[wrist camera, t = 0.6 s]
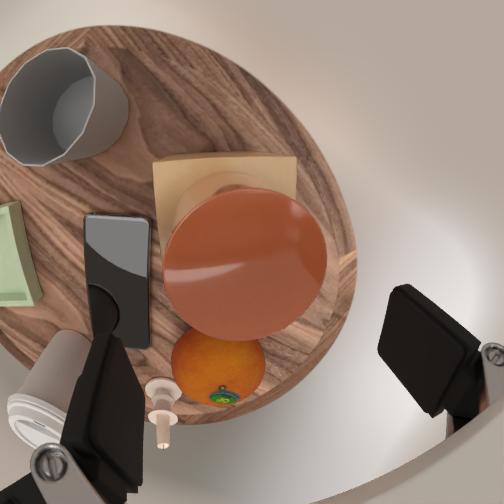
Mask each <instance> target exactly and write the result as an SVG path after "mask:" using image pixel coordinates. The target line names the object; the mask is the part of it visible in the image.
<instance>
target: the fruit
mask: <svg viewBox="0 0 504 504" xmlns="http://www.w3.org/2000/svg"><path fill="white" fill-rule="evenodd" d="M171 364H172V373H173V376H174V379H175V382H176V384H177V386H178V387H179V389H180V390H181V391H182V392H183V394H184V395H186V396H187V397H189V398H191V399H193V400H195V401H197V402H199V403H203V404H207V405H211V406H220V407H222V406H228V405H232V404H235V403H237V402H239V401H241V400H243V399H245V398H247V397H248V396H249V395H251V394H252V393H253V392H254V391H255V390H256V389H257V388H258V386H259V385H260V383H261V381H262V378H263V375H264V370H265V358H264V353H263V350H262V348H261V345H260V343H259V342H258V340H257V339H254V340H246V341H230V340H223V339H218V338H215V337H211V336H209V335H206V334H204V333H202V332H200V331H198V330H196V329H195V328H193V327H192V328H191V329H189V330H188V331H187V332H186V333H184V334H183V335H182V336H181V337H180V339H179V340H178V341H177V342H176V344H175V346H174V349H173V352H172V357H171Z"/></svg>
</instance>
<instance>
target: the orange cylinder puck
mask: <svg viewBox="0 0 504 504" xmlns="http://www.w3.org/2000/svg"><path fill="white" fill-rule="evenodd" d="M326 267H327V251H326V244H325V240H324V236H323V234H322V231H321V229H320V227H319V225H318V223H317V222H316V220H315V219H314V217H313V216H312V215H311V214H310V212H309V211H308V210H307V209H306V208H305V207H304V206H302V205H301V204H300V203H298V202H297V201H296V200H294V199H293V198H291V197H289V196H287V195H286V194H284V193H282V192H280V191H278V190H277V189H275V188H273V187H271V186H269V185H268V184H266V183H264V182H262V181H260V180H258V179H257V178H254V177H252V176H250V175H247V174H244V173H238V172H220V173H216V174H212V175H209V176H207V177H204V178H203V179H201V180H199V181H197V182H196V183H195V184H193V185H192V186H191V187H190V188H189V189H188V190H187V191H186V192H185V193H184V194H183V196H182V197H181V199H180V200H179V202H178V204H177V206H176V208H175V211H174V215H173V219H172V223H171V227H170V231H169V236H168V240H167V244H166V249H165V253H164V258H163V269H162V272H163V282H164V287H165V291H166V293H167V296H168V298H169V301H170V302H171V304H172V306H173V308H174V309H175V310H176V312H177V313H178V314H179V315H180V317H181V318H182V319H183V320H185V321H186V322H187V323H188V324H189V325H190V326H192V327H193V328H195V329H196V330H198V331H200V332H202V333H204V334H206V335H209V336H211V337H215V338H218V339H223V340H230V341H246V340H254V339H259V338H263V337H266V336H269V335H272V334H274V333H276V332H278V331H280V330H282V329H284V328H286V327H287V326H289V325H290V324H292V323H293V322H294V321H296V320H297V319H298V318H299V317H300V316H301V315H302V314H303V313H304V312H305V311H306V310H307V309H308V308H309V307H310V305H311V304H312V303H313V301H314V300H315V298H316V296H317V295H318V293H319V291H320V288H321V286H322V284H323V280H324V277H325V273H326Z"/></svg>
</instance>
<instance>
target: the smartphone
mask: <svg viewBox="0 0 504 504" xmlns="http://www.w3.org/2000/svg"><path fill="white" fill-rule="evenodd" d="M151 231H152V222H151V219H150V218H148V217H146V216H136V215H123V214H108V213H87V214H86V215H85V216H84V219H83V235H84V260H85V274H86V285H87V297H88V304H89V313H90V320H91V325H92V331H93V337H95V335H96V334H106V333H113V334H114V335H115V337H119V338H120V339H121V341H122V343H123V346H124V348H130V349H140V350H147V349H149V348H150V347H151V330H150V253H151Z"/></svg>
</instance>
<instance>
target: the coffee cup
mask: <svg viewBox="0 0 504 504" xmlns="http://www.w3.org/2000/svg"><path fill="white" fill-rule="evenodd" d="M91 345H92V343H91V342H90V341H89V340H88V339H87V338H86V337H85V336H83V335H82V334H80V333H78V332H76V331H73V330H68V329H64V330H60V331H58V332H57V333H56V334H55V335H54V337H53V338H52V339H51V341H50V342H49V344H48V345H47V347H46V348H45V350H44V351H43V353H42V354H41V355H40V357H39V358H38V360H37V362H36V363H35V365H34V366H33V368H32V369H31V371H30V372H29V374H28V375H27V377H26V379H25V380H24V382H23V384H22V385H21V387H20V388H19V390H18V392H17V393H16V394H13V395H11V396H10V397H9V398H8V404H7V411H8V415H9V424H10V426H11V428H12V429H13V431H14V432H15V433H16V434H17V435H18V436H19V437H20V438H21V439H22V440H23V441H24V442H26V443H27V444H29V445H30V446H32V447H33V448H35V449H37V448H38V447H39V446H40V445H43V444H45V443H53V442H54V443H58V444H59V443H60V439H61V434H62V430H63V426H64V422H65V419H66V415H67V411H68V408H69V404H70V401H71V397H72V394H73V391H74V388H75V385H76V381H77V379H78V377H79V376H80V375H81V374H82V371H83V368H84V365H85V362H86V359H87V356H88V353H89V351H90V348H91Z"/></svg>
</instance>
